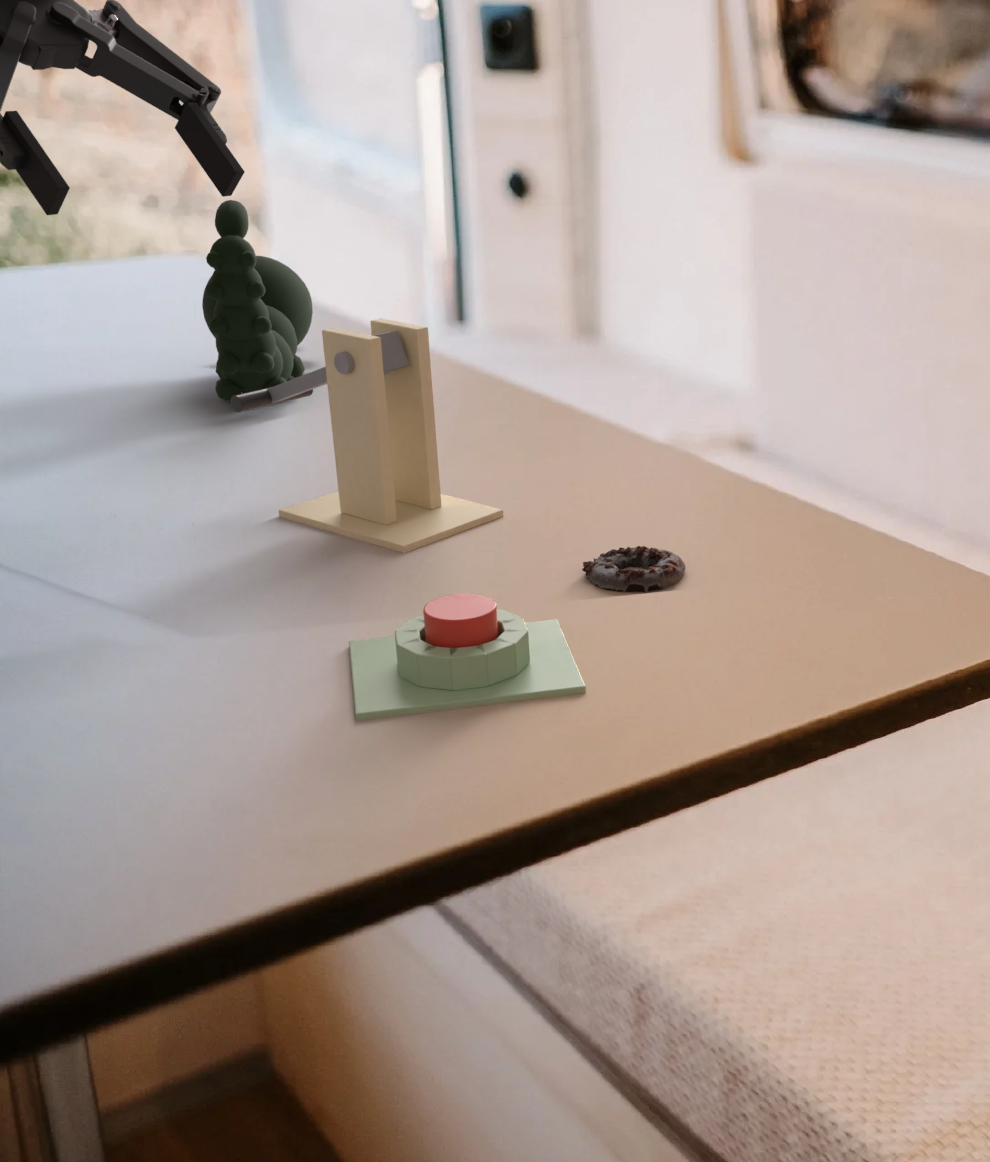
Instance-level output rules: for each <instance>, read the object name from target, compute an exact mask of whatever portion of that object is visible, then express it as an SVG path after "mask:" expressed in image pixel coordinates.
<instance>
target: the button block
mask: <svg viewBox="0 0 990 1162" xmlns="http://www.w3.org/2000/svg"><path fill="white" fill-rule="evenodd" d="M497 623H498V637H497V639H496V640H493V641H490V642H487V643H485V644H482V645H479V646H470V647H461V648H445V647H436V646H433V645H430V644H428V643H427V642H426V638H425V626H424V614H421V615H418V616H414V617H412V618H409V619H408V620H406V621H405V622H404V623H403V624H402V625H400V626H399V627H398V628H397V629H396V630H394V635H393V636H382V637H374V638H364V639H363V638H362V639H354V640H353V639H352V640H349V641H348V648H349V649H348V650H349V657H350V670H351V671H350V672H351V681H352V682H351V683H352V691H353V704H354V715H355V721H357V722H358V721H364V720H365V721H366V720H374V719H381V718H390V717H398V716H407V715H416V714H423V713H424V714H425V713H431V712H440V711H449V710H456V709H463V708H465V709H466V708H474V707H480V706H481V707H482V706H487V705H488V706H489V705H496V704H497V705H498V704H505V703H513V702H521V701H523V702H524V701H530V700H537V699H545V698H554V697H562V696H564V697H565V696H572V695H579V694H585V693H587V686H586V684H585V682H584V680H583V677H582V675H581V673H580V670H579V667H578V665H577V663H576V660H575V658H574V655H573V654H572V651H571V649H570V646H569V644H568V642H567V639H566V637H565V634H564V632H563V630H562V627H561V625H560V623H559V620H558V619H557V618H555V619H545V620H536V621H525V619H524V618H523V617H522V616H520V615H517V614H515V613H513V612H510V611H507V610H506V609H503V608H497Z"/></svg>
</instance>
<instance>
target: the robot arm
mask: <svg viewBox="0 0 990 1162" xmlns="http://www.w3.org/2000/svg"><path fill="white" fill-rule="evenodd" d="M90 41H91V42H92V43H93V44H95V45H96V49H95V52H94V54H93V56H92V57H89V56H87V55H86V53H87V51H88V49H89V44H90ZM18 63H19V64H22V65H24V66H27V67H30V68H31V69H32V70H33V71H41V70H46V69H50V68H55V69H62V70H75V69H77V70H79V71H81V72H83V73H84V74H86V75H88V76H90V77H91V78H96V77H102V78H104V79H105V80H107V81H109V82H110V83H112V84H114V85H116V86H117V87H119V88H121V89H123V90H124V91H126V92H128V93H130V94H131V95H133V96H135V97H137V98H139V99H140V100H142V101H143V102H145V103H147V104H149V105H151V106H153V107H154V108H156V109H158V110H160V111H161V112H163V113H165V114H166V115H169V116H170V117H172V118H173V119H175V120H176V121H177V122H176V124H175V126H174V130H175V131H176V132H177V134H178V136H179V137H180V138H181V139H182V141H183V143H184V144H185V145H186V147H187V148H188V150H189V151H190V152H191V154H192V155H193V157H194V158H195V160H196V161H197V163H199V165H200V167H201V168H202V170H203V172H205V174H206V175H207V177H208V178H209V180H210V181H211V182H212V184H213V185H214V187H215V188H216V190H217V191H218V192H219V194H220V196H221V197H223V198H224V197H232V195H233V193H234V192H235V190H236V189H237V186H238V185H239V183H240V181H241V180H242V178H243V176H244V174H245V170H244V169H243V167H242V165H241V164H240V163H239V161H238V160H237V158H236V157H235V156H234V154H233V153H232V151H231V150H230V149H229V146H227V143H228V138H227V135H226V133H225V132H224V130H223V129H222V128H221V126H220V125H219V123H218V122H217V120H216V119H215V118H214V117H213V115H212V114H211V113H212V112H213V110H214V108H215V107H216V104H217V102H218V100H219V98H220V96H221V94H222V89H221V88H220V87H219V86H218V85H217V84H216V83H214V82H213V81H212V80H210V79H209V78H208V77H207V76H205V75H204V74H202V73H201V72H200V71H199V70H197V68H195V67H193V65H191V64H190V63H189V62H187V61H186V60H185V59H183V58H182V57H181V56H180V55H179V54H177V53H176V52H174V51H173V50H172V49H171V48H169V47H168V46H167V45H165V44H164V43H163V42H161V40H160V39H158V38H157V37H155V36H154V35H153V34H152V33H150V32H149V31H148V30H146V28H144V27H142V25H140V24H139V23H138V22H137V21H135V19H134V18H133V17H132V16H131V14H130V13H129V12H128V10H127V9H126V8H124V6H123V5H122V4H121V3H120V2H119V1H117V0H106V1H105V2H104V5H103V8H96V9H87V8H86V7H85V6H84V5H82V4H81V3H79V2H78V1H77V0H0V165H2V167H4V168H5V169H6V170H8V171H14V170H15V171H16V173H17V174H18V175H19V177H20V179H21V180H22V181H23V183H24V184H25V186H26V187H27V188H28V191H30V193H31V195H32V196H33V198H34V199H35V200H36V202H37V203H38V204H39V206H40V208H41V209H42V210H43V212H44V214H45V215H46V216H53V215H59V212H60V211H61V208H62V206H63V203H64V201H65V199H66V197H67V195H68V193H69V191H70V186H69V185H68V183H67V182H66V179H64V177H63V176H62V174H61V173H60V172H59V170H58V168H57V167H56V165H55V164H54V163H53V161H52V160H51V157H49V155H48V154H47V152H46V151H45V149H44V148H43V146H41V144H40V142H39V141H38V139H37V138H36V136H35V135H34V133H33V132H32V131H31V129H30V128H29V126H28V125H27V124H26V122H25V121H24V119H23V118H22V116H21V115H20V113H19V112H18V110H5V112H4V114H3V115H2V113H1V112H2V109H3V105H4V103H5V100H6V97H7V95H8V91H9V89H10V86H11V83H12V80H13V78H14V75H15V72H16V69H17V67H18ZM180 102H181V103H182V104H181V103H180Z"/></svg>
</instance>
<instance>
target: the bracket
mask: <svg viewBox="0 0 990 1162" xmlns="http://www.w3.org/2000/svg"><path fill="white" fill-rule="evenodd" d="M369 323H370V330H371V331H370V333H371V334H367V333H360V332H356V331H351V330H346V329H340V328H337V327H331V328H326V329H322V330H321V336H322V346H323V355H324V365H325V366H324V367H326V376H327V384H326V386H327V393H328V403H329V413H330V422H331V432H332V443H333V451H334V461H335V471H336V480H337V491H335V492H332V493H329V494H325V495H322V496H319V497H316V498H313V499H310V500H306V501H303V502H300V503H297V504H293V505H290V506H286V507H283V508H280V509H278V516H279V518H283V519H285V520H289V521H293V522H296V523H300V524H303V525H307V526H310V527H313V528H317V529H320V530H324V531H326V532H327V531H328V532H330V533H333V534H334V533H335V534H338V535H341V536H344V537H348V538H350V539H354V540H358V541H362V542H364V543H368V544H371V545H375V546H379V547H381V548H385V549H388V550H393V551H396V552H399V553H402V554H403V553H404V554H405V553H408V552H410V551H413V550H416V549H418V548H422V547H424V546H427V545H430V544H432V543H435V542H437V541H440V540H443V539H446V538H449V537H451V536H454V535H456V534H460V533H462V532H464V531H467V530H470V529H472V528H475V527H478V526H481V525H484V524H486V523H489V522H492V521H494V520H497V519H499V518H503V517H504V510H503V509H501V508H498V507H494V506H491V505H486V504H482V503H479V502H475V501H471V500H467V499H463V498H459V497H456V496H451V495H447V494H444V493H442V492H441V480H440V478H441V477H440V465H439V453H438V441H437V440H438V439H437V428H436V427H437V426H436V412H435V402H434V388H433V375H432V363H431V349H430V336H429V335H430V334H429V327H428V326H424V325H419V324H415V323H414V324H413V323H409V322H403V321H397V320H392V319H387V318H377V319H372V320H371V319H370V322H369ZM396 330H397V331H398V333H399V336H400V339H401V342H402V345H403V348H404V350H405V353H406V356H407V359H408V362H409V366H407V367H404V368H401V369H399V370H396V371H393V372H390V373H388V374H385V375H384V371H383V360H382V349H381V338H380V337H377V336H372V335H377V334H381V333H386V332H391V331H396Z"/></svg>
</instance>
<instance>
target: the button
mask: <svg viewBox="0 0 990 1162" xmlns="http://www.w3.org/2000/svg"><path fill="white" fill-rule="evenodd" d="M497 609H498V608H497V603H496V602H495V600H494V599H492V598H491V597H489V596H486V595H482V594H477V593H476V594H475V593H456V594H455V593H453V594H448V595H444V596H440V597H437V598H434V599H432V600H430V601H429V602H427V603H426V604H425V605H424V606H423V611H422V613H423V614H422V615H424V626H425V638H426V642H427V643H428V644H430V645H433V646H436V647H445V648H461V647H470V646H479V645H482V644H485V643H487V642H490V641H493V640H496V639H497V637H498V623H497Z"/></svg>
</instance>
